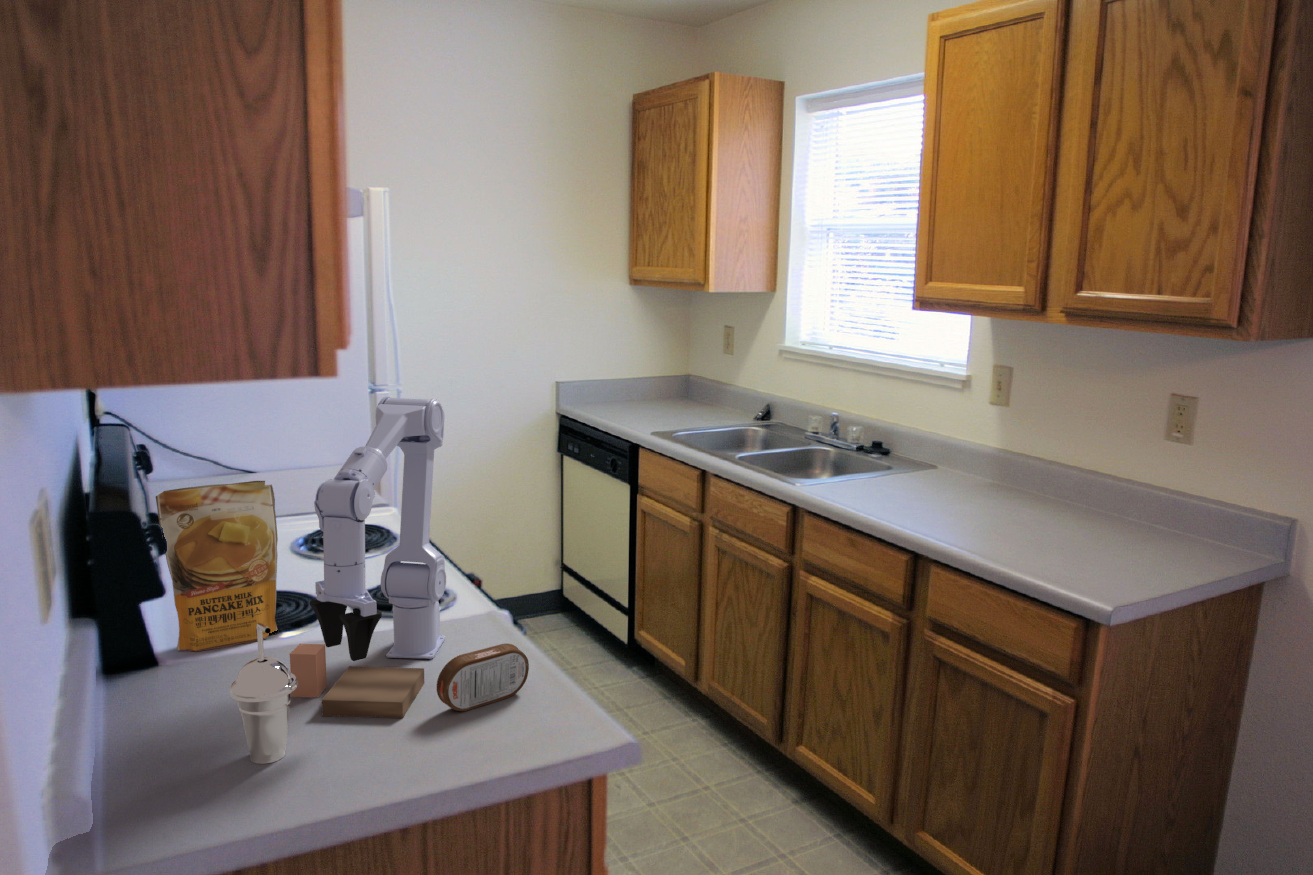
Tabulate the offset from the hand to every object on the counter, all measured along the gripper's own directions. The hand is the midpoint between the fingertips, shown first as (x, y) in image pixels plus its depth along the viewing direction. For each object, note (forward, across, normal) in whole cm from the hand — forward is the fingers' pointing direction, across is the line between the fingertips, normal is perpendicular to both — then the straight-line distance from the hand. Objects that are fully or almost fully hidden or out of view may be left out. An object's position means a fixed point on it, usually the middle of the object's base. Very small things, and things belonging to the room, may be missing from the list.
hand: (345, 652), depth 139 cm
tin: (+10, +10, +18) cm, 22 cm away
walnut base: (+10, -2, +6) cm, 11 cm away
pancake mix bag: (+9, -41, -1) cm, 42 cm away
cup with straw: (+11, +3, -13) cm, 17 cm away
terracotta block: (+10, -12, 0) cm, 15 cm away
